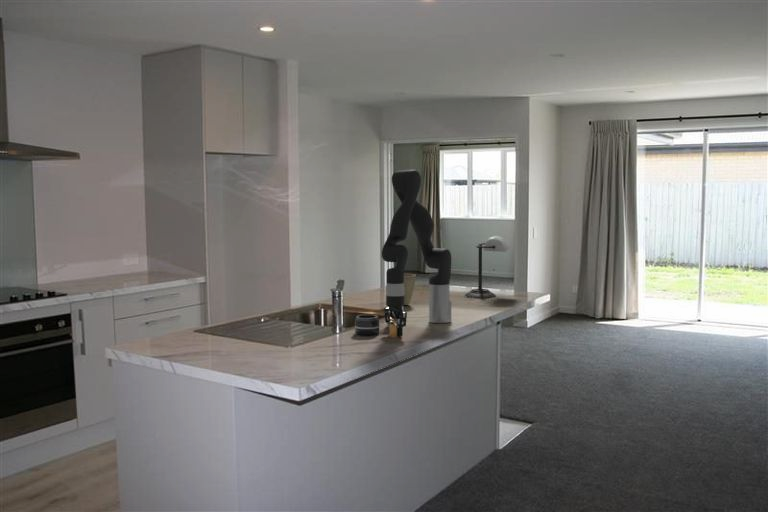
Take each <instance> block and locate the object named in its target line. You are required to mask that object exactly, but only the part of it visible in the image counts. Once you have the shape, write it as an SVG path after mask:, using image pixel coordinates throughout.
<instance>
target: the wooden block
mask: <svg viewBox="0 0 768 512" xmlns="http://www.w3.org/2000/svg"><path fill="white" fill-rule="evenodd" d="M388 335H389V336H388V337H389V338H392V339H393V338H394V339H399V338H401V337H397V325H396V323H392V324H389V327H388Z"/></svg>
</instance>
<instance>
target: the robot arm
mask: <svg viewBox="0 0 768 512" xmlns="http://www.w3.org/2000/svg"><path fill="white" fill-rule="evenodd" d="M421 177H422V176H421V174H420V172H419V171H418V170H417V169H403V170H397V171H395V172H394V173H393V174H392V176H391V184H392V188H393V189H394V192H395V194H396V196H397V197H398V199H399V200H400V202H401V204H400V205H399V207H398V209H396V211H395V213H394V215H392V216H393V217H392V219H391V224H390V227H389V228H390V230H389V234H388V236H387V238H386V240H385V242H384V244H383V246H382V248H381V257H382V258H381V259H382V260H383V261H385V262H386V263H387V262H388V263H396V265H395V266H394V267H390V268H388V269H387V270H386V285H385V305H386V307H385V308H384V309H383V310H384V311H383V312H384V320H385V323H386V324H387V323H388V325H389V324H392V323H394V322H396V325H397V337H400V338H402V337H403V333H404V332H403V328H404V327H406V326H407V315H408V313H407V311H404V309H403V310H402V306H403V307H405V306H404V305H405V294H404V274H405V270H406V269H405V268H406V265H407V260H408V257H409V251H408V248H407V247H406V245H403V244H398V243H399V242H402V241H405V240H406V239H407V237H408V236H407V235H408V230H409V225H411V227H412V229H413V231H414V234H415V236H416V238H417V241H418V243H419V246H420V250H421V253H422V256H423V259H424V263H425V264H426V266H427V267H428V268H429V269H436V270H438V273H437V274H435V275H433V276H430V277H429V279H428V321H429V323H431V324H432V323H433V324H446V323H449V322H452V300H451V299H450V280H451V277H452V276H451V275H452V254H451V251H450V250H449V249H448V248H442V247H441V248H439V247H438V248H437V247H434V245H433V242H432V235H433V232H434V228H435V224H434V220H433V217H432V215H431V212H430V211H429V209H427V207H426V206H424V205H423V204H422V203H421V201H418V199H417V198H418V195H419V193H420V189H421V185H422V178H421ZM387 306H389V308H387ZM387 317H388V318H387ZM397 319H400V320H397ZM403 321H404V323H403Z"/></svg>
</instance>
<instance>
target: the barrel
mask: <svg viewBox="0 0 768 512" xmlns="http://www.w3.org/2000/svg"><path fill="white" fill-rule="evenodd" d="M354 329H355V330H354V334H355V335H356V334H357V335H356V336H358V335H361V336H360V337H375V336H379V335H380V318H379V315H376V314H358V315H356V317H355V319H354ZM374 335H375V336H374Z"/></svg>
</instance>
